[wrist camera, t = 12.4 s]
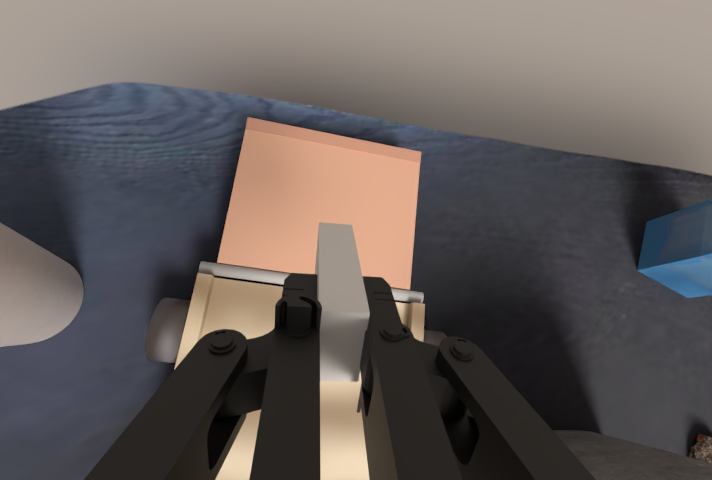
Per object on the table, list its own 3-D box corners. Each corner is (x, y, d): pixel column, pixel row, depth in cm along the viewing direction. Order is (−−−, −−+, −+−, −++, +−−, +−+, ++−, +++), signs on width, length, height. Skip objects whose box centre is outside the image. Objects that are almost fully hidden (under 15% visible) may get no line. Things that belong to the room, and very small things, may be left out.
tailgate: (423, 303, 29) (433, 153, 32) (197, 272, 26) (233, 113, 30) (415, 304, 31) (426, 162, 34) (203, 275, 28) (236, 124, 31)
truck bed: (416, 663, 25) (474, 797, 18) (81, 669, 22) (-24, 837, 14) (430, 312, 32) (475, 301, 25) (181, 279, 29) (146, 254, 22)
